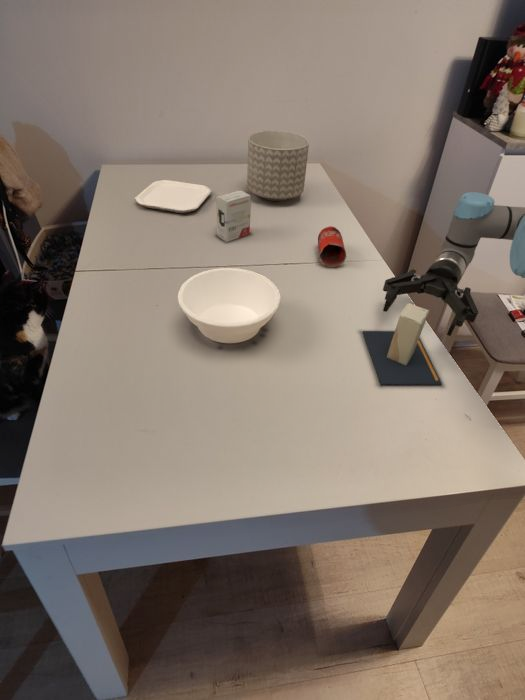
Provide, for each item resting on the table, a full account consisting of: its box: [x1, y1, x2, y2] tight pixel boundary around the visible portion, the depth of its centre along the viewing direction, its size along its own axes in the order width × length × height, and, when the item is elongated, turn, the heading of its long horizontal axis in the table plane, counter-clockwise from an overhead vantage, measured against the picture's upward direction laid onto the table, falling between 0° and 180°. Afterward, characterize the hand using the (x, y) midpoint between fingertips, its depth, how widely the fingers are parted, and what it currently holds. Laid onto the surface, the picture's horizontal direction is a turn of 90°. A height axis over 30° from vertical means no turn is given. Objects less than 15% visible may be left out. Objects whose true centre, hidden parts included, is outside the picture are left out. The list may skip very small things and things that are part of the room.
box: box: [387, 302, 430, 365], centre depth 88 cm, size 5×4×11 cm
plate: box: [134, 179, 213, 214], centre depth 143 cm, size 21×21×2 cm
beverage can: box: [317, 225, 347, 268], centre depth 119 cm, size 7×12×7 cm, turn 178°
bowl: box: [177, 267, 282, 344], centre depth 94 cm, size 21×21×8 cm
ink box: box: [216, 189, 252, 243], centre depth 124 cm, size 9×5×12 cm, turn 130°
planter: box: [246, 130, 310, 202], centre depth 145 cm, size 19×19×18 cm
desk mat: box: [362, 330, 443, 386], centre depth 91 cm, size 16×12×1 cm
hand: (417, 318), depth 91 cm, fingers open, 13 cm apart
